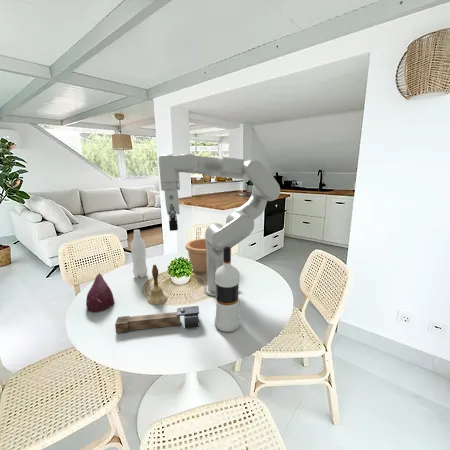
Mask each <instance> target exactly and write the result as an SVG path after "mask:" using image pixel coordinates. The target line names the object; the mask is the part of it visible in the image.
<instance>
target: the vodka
mask: <svg viewBox="0 0 450 450" xmlns="http://www.w3.org/2000/svg"><path fill="white" fill-rule="evenodd" d="M223 253H224V254H223V265H222V266H221V267H219V268H218V269H217V270H216V272H215V278H216V280H215V282H216V296H215V317H214V326H215V327H216V329H218V330H219V331H221V332H225V333H231V332H234V331H236V330H237V329H239V327H240V325H241V318H240V312H239V304H240V298H239V288H240V287H239V283H240V272H239V270H238V268H237V267H235V266H233V265H232V248H231V247H228V246H226V247H224V248H223Z"/></svg>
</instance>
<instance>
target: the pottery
mask: <svg viewBox="0 0 450 450" xmlns="http://www.w3.org/2000/svg"><path fill="white" fill-rule="evenodd" d="M185 250H186V251H188V252H187V254H188V258H189V263H190V262H191V264H192V266H193V270H194V271H193V272H194V273H196V274H202V275H207V253H206V242H205V238H198V239H197V238H196V239H193V240H190V241H188V242H186V243H185ZM191 264H190V265H191Z"/></svg>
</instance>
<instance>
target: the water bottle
mask: <svg viewBox="0 0 450 450" xmlns="http://www.w3.org/2000/svg"><path fill="white" fill-rule="evenodd" d="M141 234H142V233H141V230H140V229H134V230H133V234H132V235H133V239H132V240H131V243H130V250H131V253H130V254H131V259H132V265H133V268H132V273H133V276H134V277H135V278H136V279H138V278H141V279H143V278H145V277H146V276H147V275H148V267H147V262H146V259H147V258H146V257H147V256H146V255H147V253H146V243H145V241H144V240H143V238H142V237H141Z"/></svg>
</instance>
